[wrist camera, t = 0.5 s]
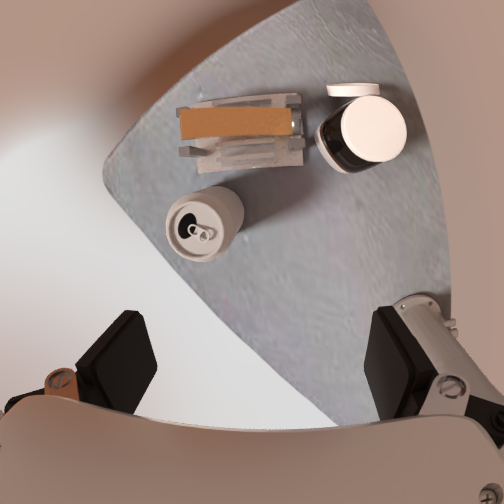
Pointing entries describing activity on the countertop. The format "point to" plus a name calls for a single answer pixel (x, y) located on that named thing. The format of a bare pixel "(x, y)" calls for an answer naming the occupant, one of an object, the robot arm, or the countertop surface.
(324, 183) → the countertop surface
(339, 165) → the spread jar
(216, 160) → the gray slatted rack
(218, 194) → the can
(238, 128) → the orange brown bar
